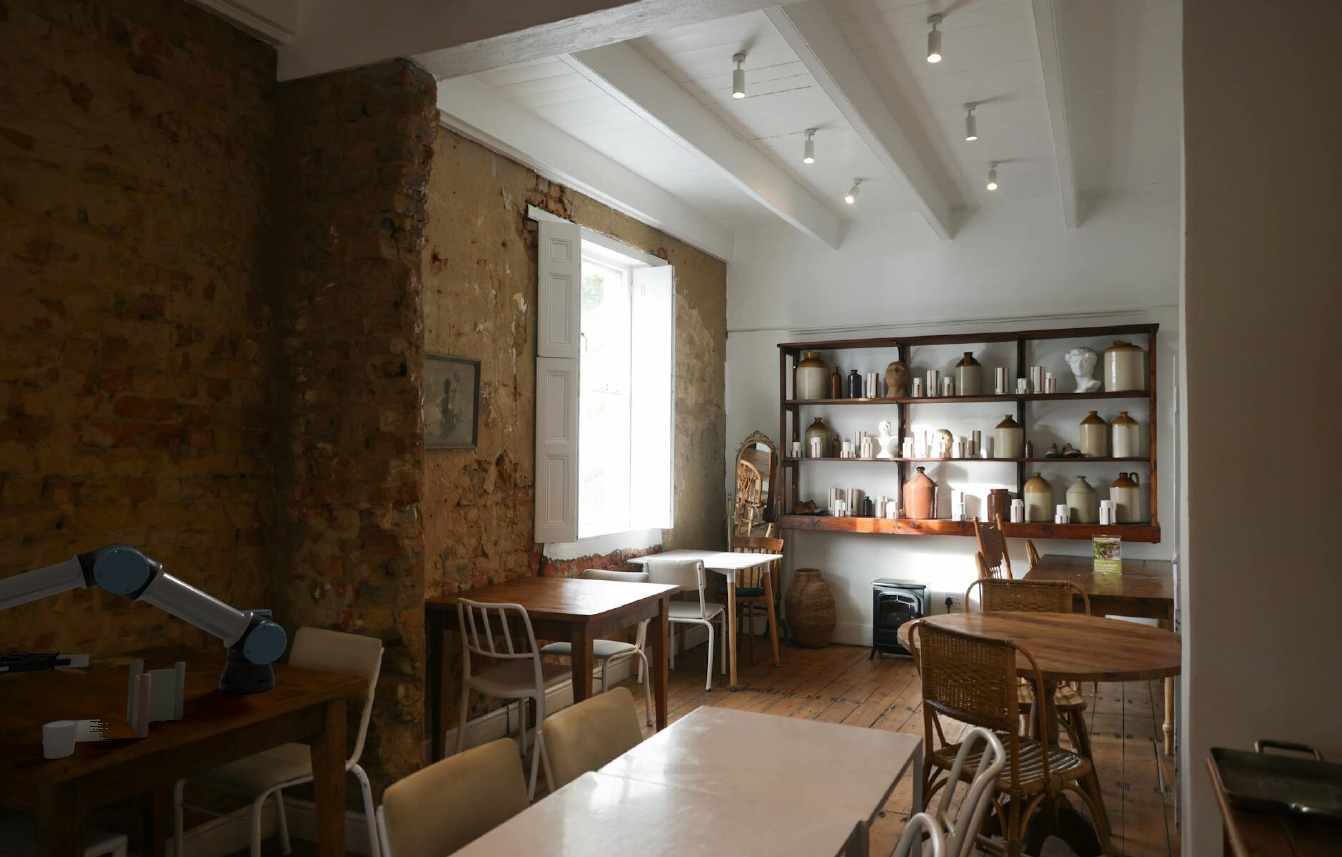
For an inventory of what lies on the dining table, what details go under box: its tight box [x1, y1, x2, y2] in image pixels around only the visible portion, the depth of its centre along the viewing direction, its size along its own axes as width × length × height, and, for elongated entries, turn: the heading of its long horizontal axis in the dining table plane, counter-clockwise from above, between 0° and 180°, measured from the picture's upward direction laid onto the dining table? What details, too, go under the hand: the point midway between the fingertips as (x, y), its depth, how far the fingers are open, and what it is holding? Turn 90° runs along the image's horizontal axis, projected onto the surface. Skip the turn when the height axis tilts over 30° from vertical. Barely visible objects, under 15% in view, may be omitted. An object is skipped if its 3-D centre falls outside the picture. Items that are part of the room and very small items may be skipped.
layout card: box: [41, 719, 108, 745], centre depth 220 cm, size 20×18×1 cm
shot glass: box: [42, 719, 79, 760], centre depth 203 cm, size 7×7×7 cm
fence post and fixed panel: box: [126, 659, 186, 724], centre depth 228 cm, size 12×3×16 cm, turn 118°
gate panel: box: [132, 673, 151, 739], centre depth 219 cm, size 13×2×15 cm, turn 39°
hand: (87, 660), depth 216 cm, fingers closed
